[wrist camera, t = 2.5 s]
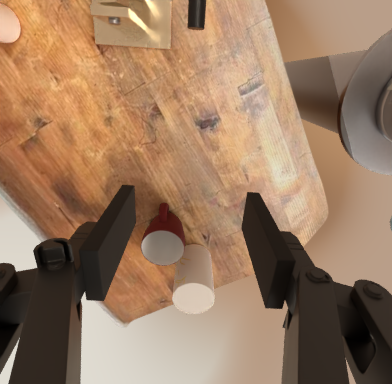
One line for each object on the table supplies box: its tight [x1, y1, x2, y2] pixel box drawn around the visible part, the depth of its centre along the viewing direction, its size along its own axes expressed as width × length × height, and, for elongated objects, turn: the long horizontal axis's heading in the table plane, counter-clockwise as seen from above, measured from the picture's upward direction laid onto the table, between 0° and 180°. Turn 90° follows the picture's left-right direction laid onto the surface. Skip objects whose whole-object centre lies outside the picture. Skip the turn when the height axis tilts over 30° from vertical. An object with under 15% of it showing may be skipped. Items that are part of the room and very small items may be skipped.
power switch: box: [90, 0, 172, 50], centre depth 34 cm, size 12×9×13 cm
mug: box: [141, 203, 185, 266], centre depth 50 cm, size 10×8×10 cm
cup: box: [172, 244, 215, 314], centre depth 54 cm, size 8×8×12 cm
